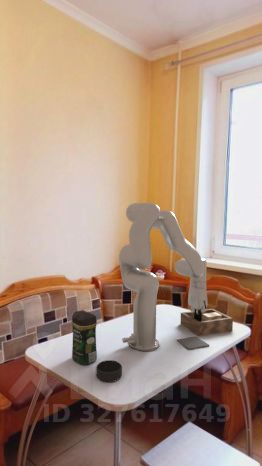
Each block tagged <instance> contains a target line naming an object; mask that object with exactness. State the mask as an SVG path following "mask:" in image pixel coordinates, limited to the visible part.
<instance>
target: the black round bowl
mask: <svg viewBox="0 0 262 466" xmlns="http://www.w3.org/2000/svg"><path fill="white" fill-rule="evenodd" d="M95 371H96V372H95V377H96V378H97V379H98V380H99V379H100V381H101V380H102V381H101V382H104V381H105V383H112V381H113V382H115V380H116V381H118V380H120V379H121V377H122V376H123V375H122V374H123V367H122V364H121V362H119V361H116V360H109V359H108V360H103V361H101V362H99V363H98V364H97V365H96V368H95Z"/></svg>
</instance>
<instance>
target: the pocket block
mask: <svg viewBox="0 0 262 466" xmlns="http://www.w3.org/2000/svg"><path fill="white" fill-rule="evenodd" d="M213 312H217V313H219V314H221V315H222V319H215V320H208V321H203V320H202V318H201V320H202V321H201V322H199V321H198V320H196V319H194V312H193V311H191V310H190V311H185V312H184V311H183V312H180V326H182V327H184V328H185V329H187V330H189V332H192V333H193V334H194V335H195V336H197V337H202V336H208V335H213V334H219V333H225V332H231V331H233V325H234V321H233V320H234V318H233V317H231V316H229V315H228V314H225V313H223V312H221V311H218V310H216V309H214V308H206V309H205V312H202V314H206V313H213Z"/></svg>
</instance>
